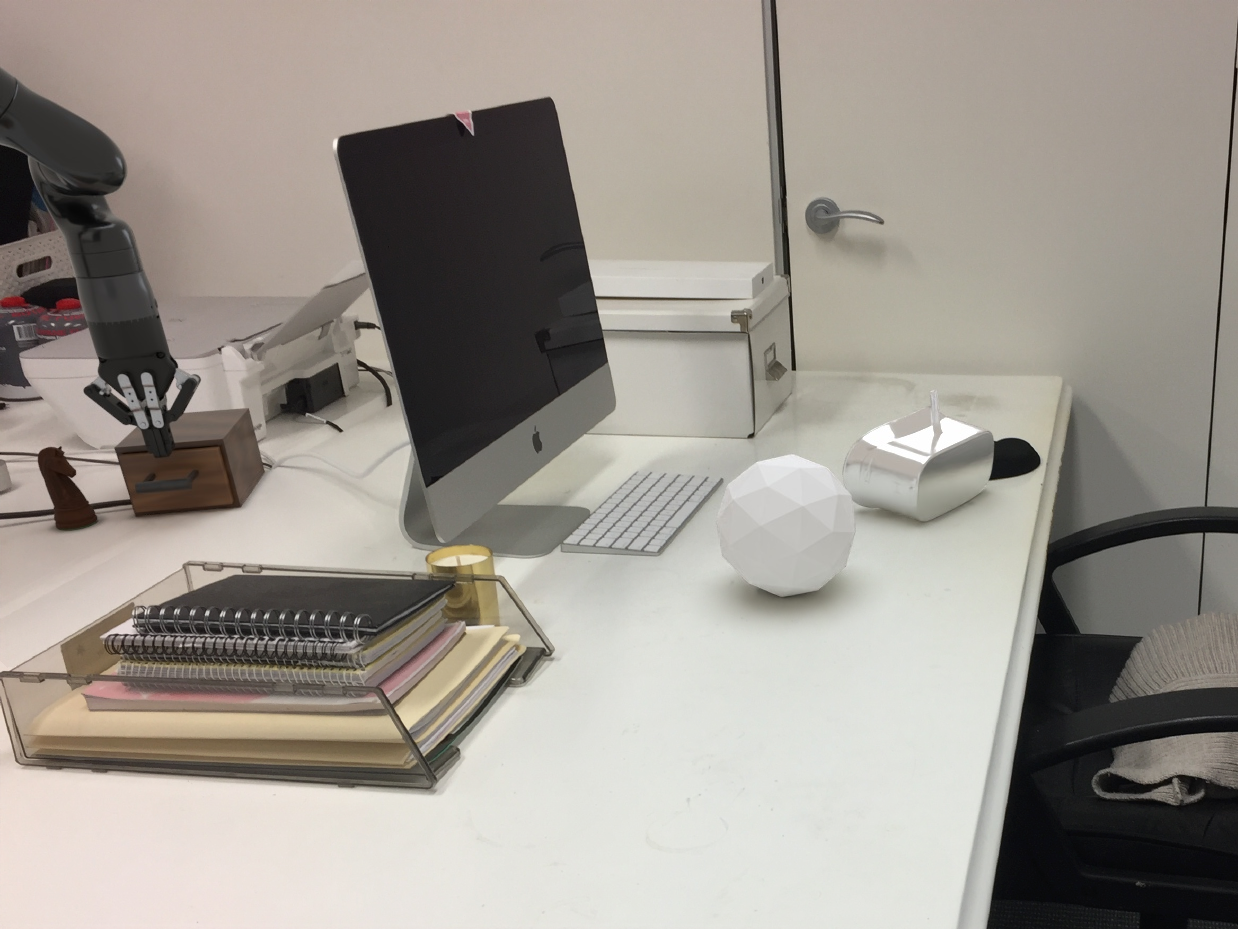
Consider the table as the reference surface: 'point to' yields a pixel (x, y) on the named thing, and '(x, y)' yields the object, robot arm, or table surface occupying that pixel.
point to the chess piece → (64, 491)
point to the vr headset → (919, 464)
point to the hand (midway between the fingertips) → (163, 455)
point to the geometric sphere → (786, 525)
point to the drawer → (177, 479)
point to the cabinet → (211, 430)
